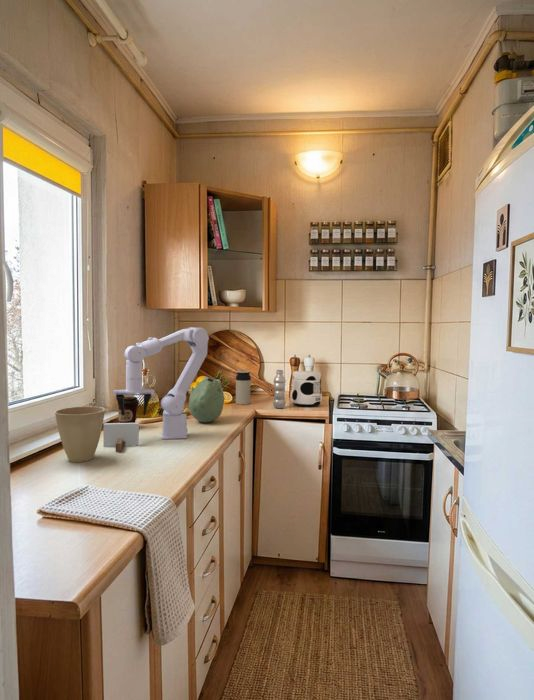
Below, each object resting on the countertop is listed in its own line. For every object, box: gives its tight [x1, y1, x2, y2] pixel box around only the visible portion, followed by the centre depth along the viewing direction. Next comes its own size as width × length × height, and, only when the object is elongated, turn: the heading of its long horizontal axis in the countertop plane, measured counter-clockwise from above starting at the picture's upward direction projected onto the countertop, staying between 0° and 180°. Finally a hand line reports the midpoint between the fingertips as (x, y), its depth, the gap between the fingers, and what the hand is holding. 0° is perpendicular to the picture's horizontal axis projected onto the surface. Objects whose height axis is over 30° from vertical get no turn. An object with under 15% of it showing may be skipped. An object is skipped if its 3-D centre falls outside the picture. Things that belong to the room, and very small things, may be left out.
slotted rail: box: [115, 439, 125, 453], centre depth 170 cm, size 2×18×3 cm, turn 11°
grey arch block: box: [102, 422, 140, 448], centre depth 170 cm, size 12×2×8 cm, turn 101°
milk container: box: [290, 370, 323, 407], centre depth 259 cm, size 17×17×18 cm
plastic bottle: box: [272, 369, 287, 409], centre depth 248 cm, size 6×7×20 cm
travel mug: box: [235, 369, 252, 406], centre depth 260 cm, size 8×8×18 cm
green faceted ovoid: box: [187, 376, 225, 424], centre depth 211 cm, size 16×19×20 cm
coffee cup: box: [117, 396, 140, 423], centre depth 196 cm, size 9×8×13 cm
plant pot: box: [54, 405, 106, 463], centre depth 153 cm, size 15×15×16 cm
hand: (133, 414), depth 176 cm, fingers open, 7 cm apart
